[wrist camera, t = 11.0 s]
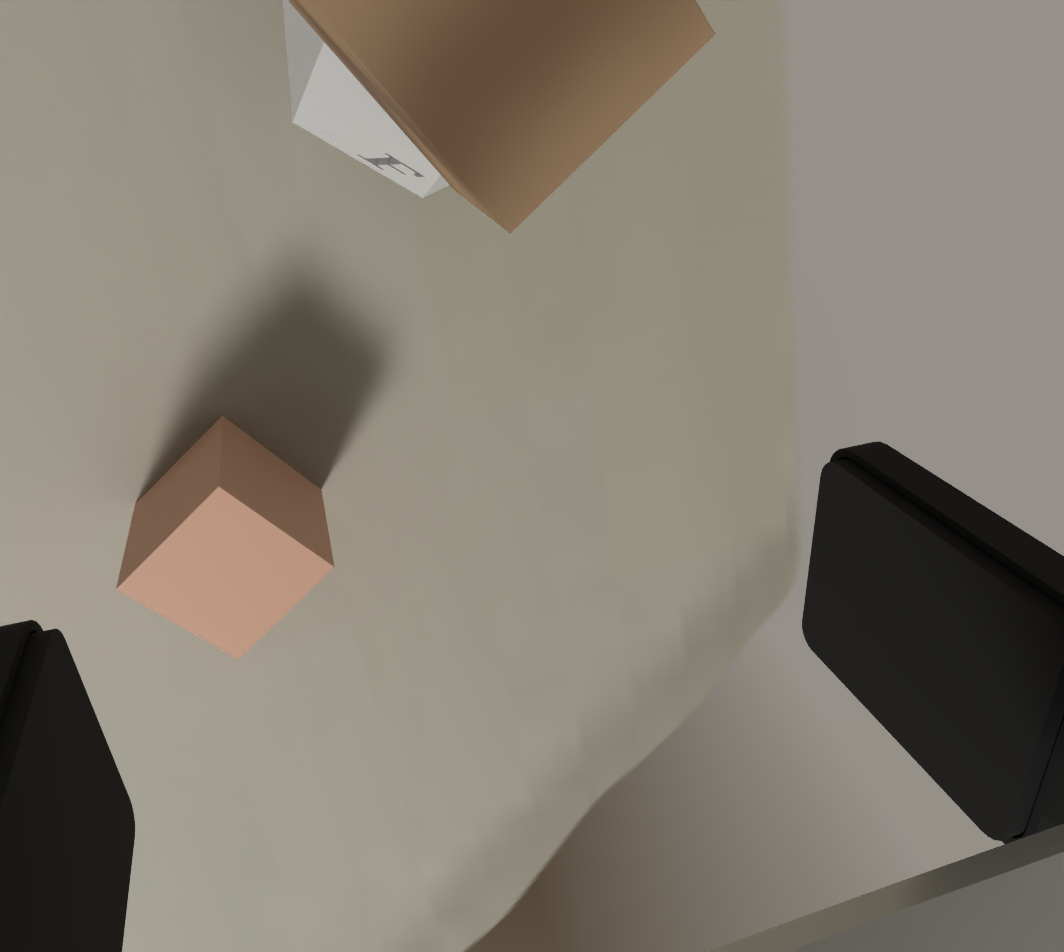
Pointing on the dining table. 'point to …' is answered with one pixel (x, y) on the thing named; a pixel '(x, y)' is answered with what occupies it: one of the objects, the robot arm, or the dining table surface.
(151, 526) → the block terracotta
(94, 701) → the dining table surface
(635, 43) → the block walnut
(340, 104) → the die
